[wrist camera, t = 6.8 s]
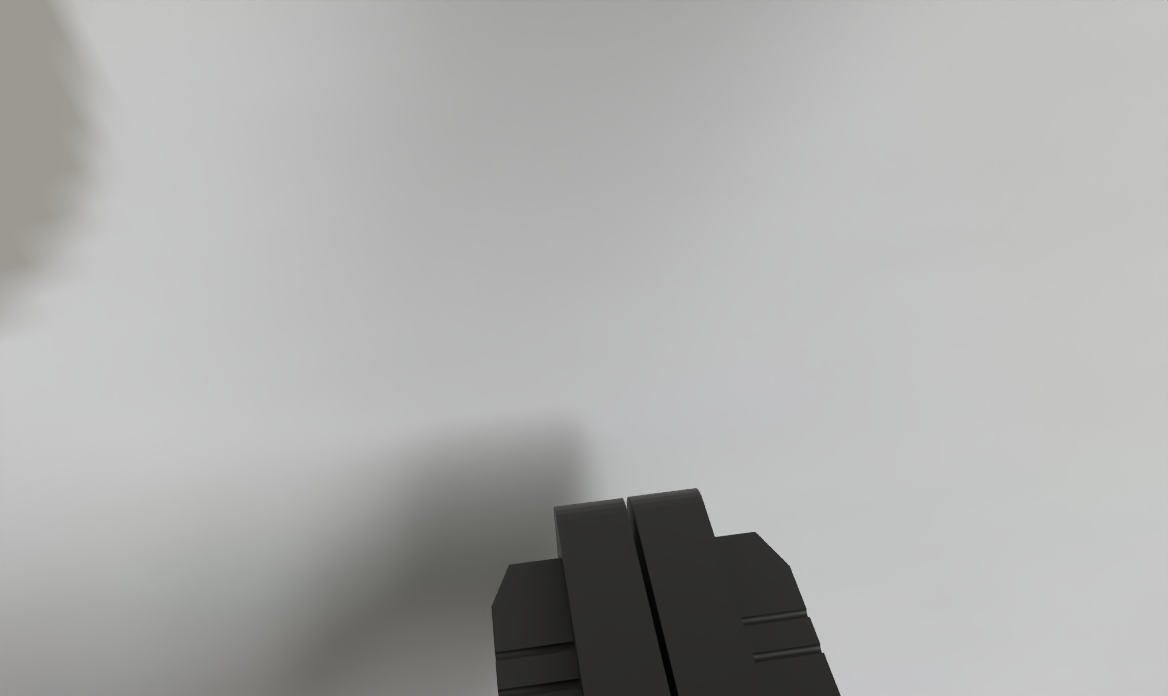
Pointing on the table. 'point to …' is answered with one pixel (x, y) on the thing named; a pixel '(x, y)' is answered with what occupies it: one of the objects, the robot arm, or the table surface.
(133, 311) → the table surface
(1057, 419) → the table surface
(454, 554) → the table surface
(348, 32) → the table surface
